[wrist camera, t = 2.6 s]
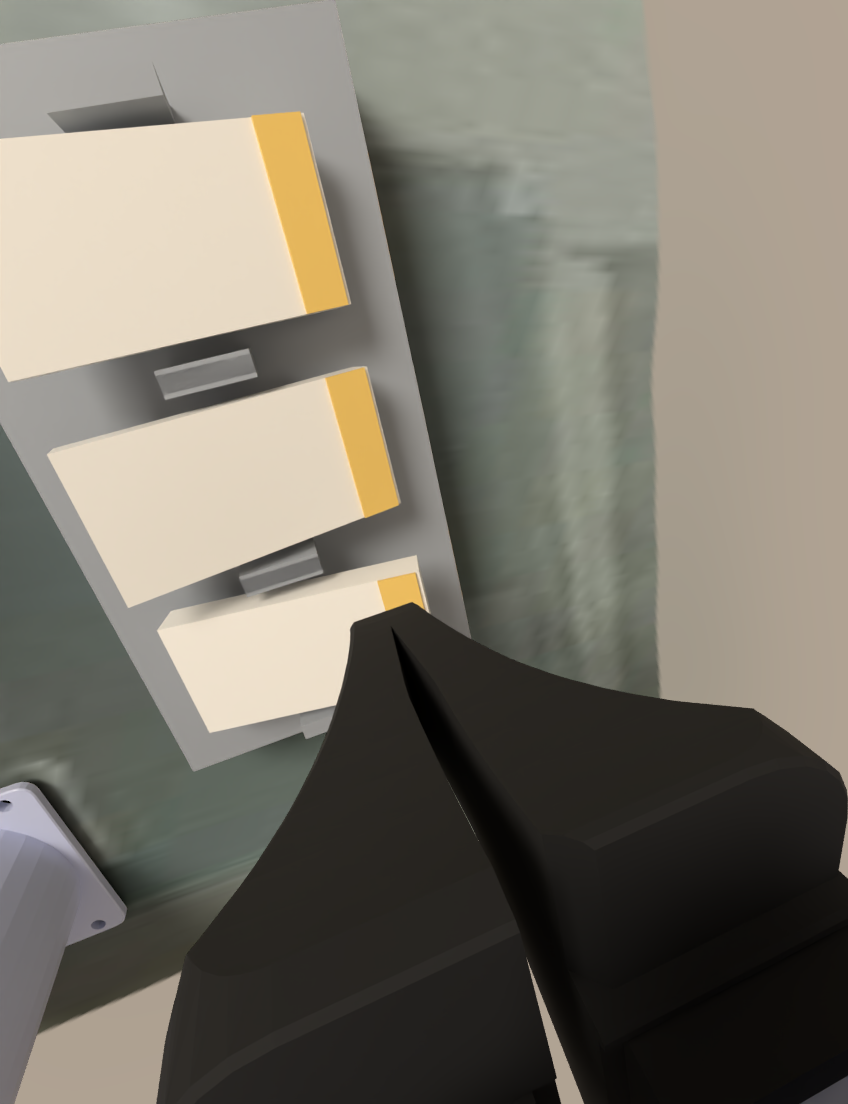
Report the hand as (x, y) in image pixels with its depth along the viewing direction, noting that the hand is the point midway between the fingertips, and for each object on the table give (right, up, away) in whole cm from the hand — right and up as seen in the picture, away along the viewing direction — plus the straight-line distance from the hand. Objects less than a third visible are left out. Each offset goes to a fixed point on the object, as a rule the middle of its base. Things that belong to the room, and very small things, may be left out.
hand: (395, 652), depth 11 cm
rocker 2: (-4, +4, +2) cm, 6 cm away
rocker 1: (-5, +8, 0) cm, 10 cm away
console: (-5, +5, +6) cm, 10 cm away
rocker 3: (-3, -1, +4) cm, 5 cm away
